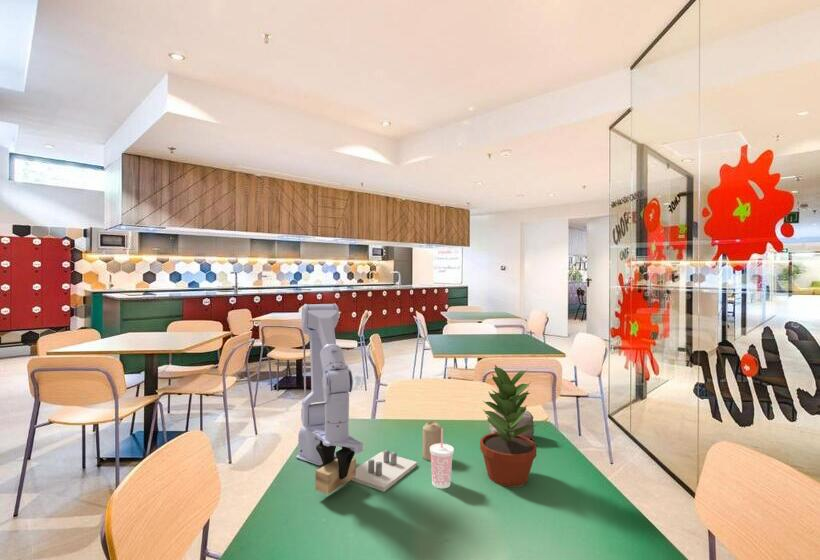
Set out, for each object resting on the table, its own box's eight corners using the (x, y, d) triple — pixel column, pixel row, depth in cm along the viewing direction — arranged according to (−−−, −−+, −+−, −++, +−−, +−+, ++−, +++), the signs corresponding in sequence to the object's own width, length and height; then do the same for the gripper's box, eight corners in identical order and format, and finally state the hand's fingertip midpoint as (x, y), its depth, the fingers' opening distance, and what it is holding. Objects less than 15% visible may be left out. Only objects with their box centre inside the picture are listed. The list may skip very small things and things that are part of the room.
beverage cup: (425, 486, 100) (426, 431, 100) (433, 475, 106) (434, 422, 105) (449, 492, 98) (450, 434, 97) (456, 480, 103) (457, 426, 103)
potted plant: (546, 475, 107) (548, 363, 106) (519, 498, 95) (521, 372, 95) (497, 457, 117) (499, 354, 116) (467, 476, 106) (469, 362, 105)
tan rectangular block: (328, 494, 92) (328, 475, 92) (315, 489, 94) (315, 470, 94) (355, 476, 101) (355, 458, 101) (343, 472, 103) (343, 454, 103)
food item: (493, 442, 128) (494, 411, 128) (487, 432, 136) (488, 403, 136) (535, 442, 128) (536, 411, 128) (527, 432, 136) (527, 403, 136)
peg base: (345, 478, 104) (345, 462, 104) (381, 455, 117) (381, 441, 117) (383, 491, 97) (384, 475, 97) (416, 465, 111) (417, 451, 111)
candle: (440, 462, 113) (440, 427, 113) (421, 460, 114) (421, 425, 114) (442, 453, 119) (443, 420, 119) (424, 451, 120) (424, 418, 120)
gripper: (303, 418, 98) (302, 473, 98) (349, 431, 90) (348, 491, 90) (323, 410, 104) (322, 462, 104) (368, 421, 96) (367, 477, 96)
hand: (336, 474), depth 97 cm, fingers closed on tan rectangular block, 4 cm apart
